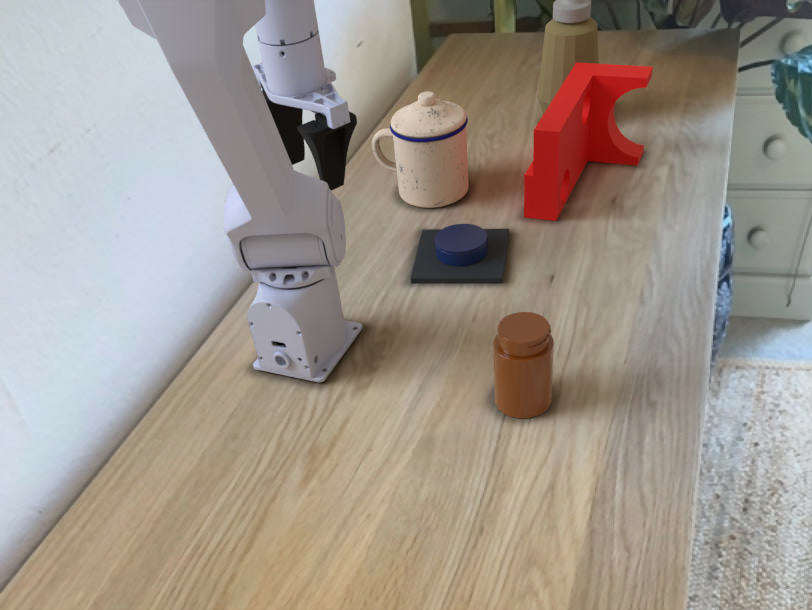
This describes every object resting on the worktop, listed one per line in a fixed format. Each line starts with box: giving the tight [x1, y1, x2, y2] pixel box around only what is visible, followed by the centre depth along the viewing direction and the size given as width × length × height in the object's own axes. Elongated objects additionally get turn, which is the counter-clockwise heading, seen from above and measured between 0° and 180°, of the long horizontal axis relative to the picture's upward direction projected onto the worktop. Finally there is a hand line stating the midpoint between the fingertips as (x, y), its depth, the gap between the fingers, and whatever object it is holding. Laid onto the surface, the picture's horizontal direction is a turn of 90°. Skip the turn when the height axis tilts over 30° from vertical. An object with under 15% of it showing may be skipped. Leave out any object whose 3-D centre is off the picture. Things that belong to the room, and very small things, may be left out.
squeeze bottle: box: [537, 0, 599, 115], centre depth 108 cm, size 8×8×18 cm
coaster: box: [410, 228, 510, 284], centre depth 95 cm, size 10×10×1 cm
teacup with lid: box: [371, 90, 470, 209], centre depth 102 cm, size 12×9×12 cm
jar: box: [492, 311, 555, 419], centre depth 76 cm, size 5×5×8 cm
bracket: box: [523, 62, 654, 222], centre depth 100 cm, size 18×10×10 cm
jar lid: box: [435, 223, 488, 266], centre depth 94 cm, size 6×6×2 cm
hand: (314, 174), depth 89 cm, fingers open, 7 cm apart
